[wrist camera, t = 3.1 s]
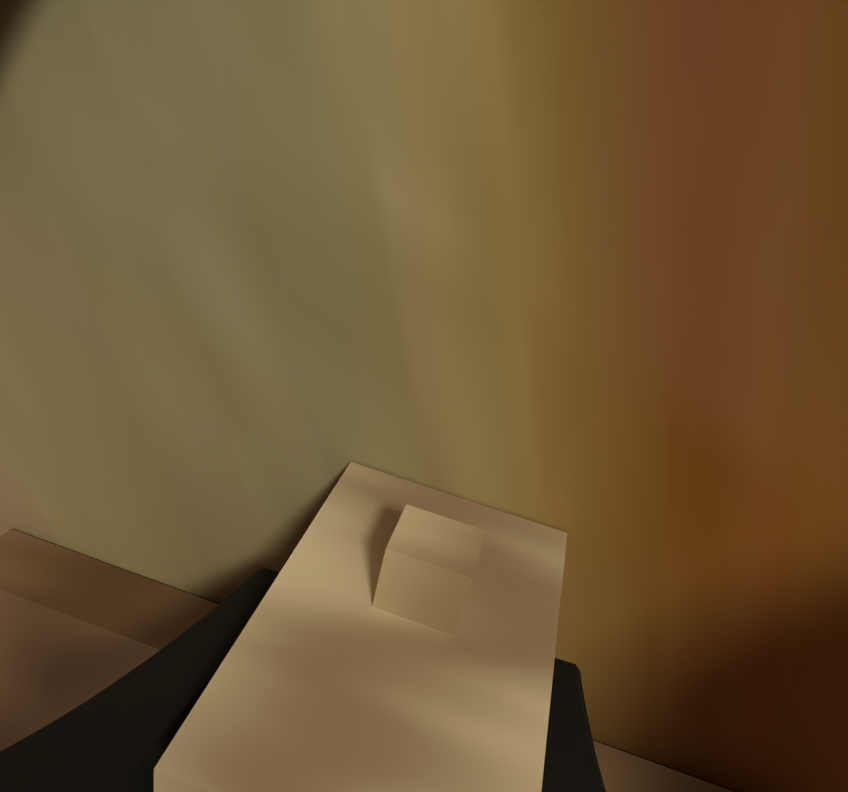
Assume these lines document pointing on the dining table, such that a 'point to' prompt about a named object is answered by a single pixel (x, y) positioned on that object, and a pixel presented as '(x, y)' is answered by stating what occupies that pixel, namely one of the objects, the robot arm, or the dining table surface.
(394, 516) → the block
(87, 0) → the dining table surface
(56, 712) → the board
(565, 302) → the dining table surface
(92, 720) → the robot arm
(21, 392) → the dining table surface
